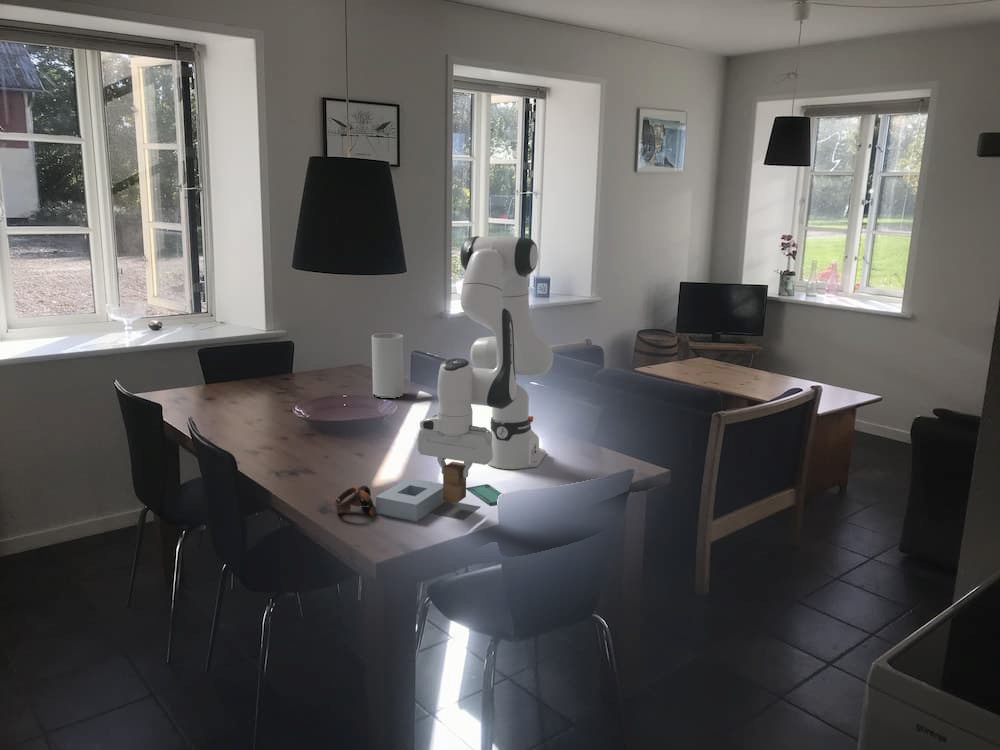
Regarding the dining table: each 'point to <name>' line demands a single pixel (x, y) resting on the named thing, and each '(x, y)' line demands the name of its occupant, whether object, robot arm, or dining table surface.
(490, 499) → the smartphone
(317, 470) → the dining table surface
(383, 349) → the cylinder vase
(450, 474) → the walnut block
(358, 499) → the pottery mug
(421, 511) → the pocket holder
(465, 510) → the rubber mat
